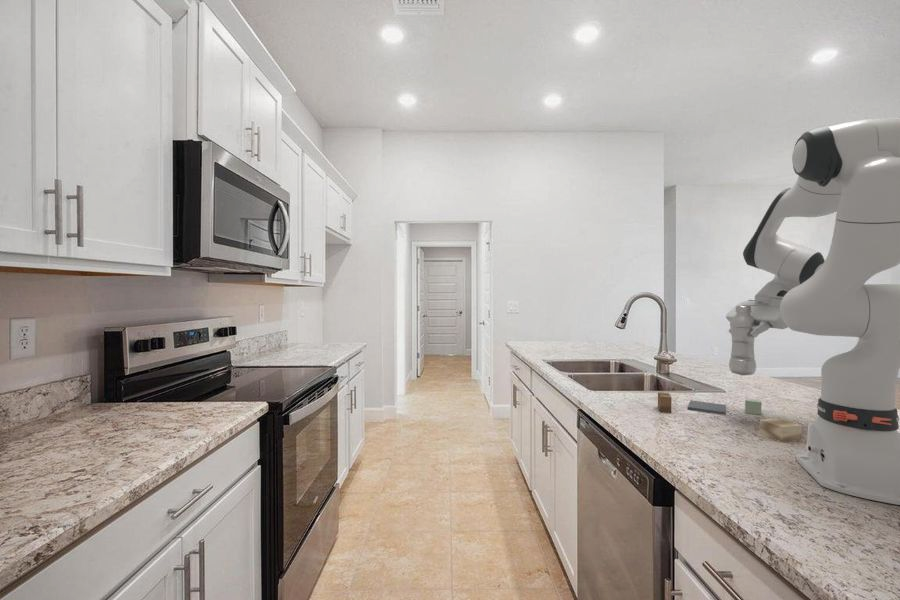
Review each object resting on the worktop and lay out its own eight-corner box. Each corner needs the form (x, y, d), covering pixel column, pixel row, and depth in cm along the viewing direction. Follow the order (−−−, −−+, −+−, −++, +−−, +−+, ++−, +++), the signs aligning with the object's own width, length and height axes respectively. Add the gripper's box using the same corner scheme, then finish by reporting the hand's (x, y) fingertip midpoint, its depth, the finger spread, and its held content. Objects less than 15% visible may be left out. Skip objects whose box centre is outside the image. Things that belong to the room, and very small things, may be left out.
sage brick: (761, 415, 126) (761, 402, 126) (745, 413, 129) (745, 400, 129) (760, 412, 130) (760, 399, 130) (745, 410, 132) (745, 397, 132)
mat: (725, 414, 127) (725, 412, 127) (687, 409, 132) (687, 406, 132) (725, 407, 135) (726, 404, 135) (690, 402, 140) (690, 400, 140)
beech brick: (801, 441, 105) (801, 425, 105) (781, 442, 104) (782, 426, 104) (778, 433, 111) (778, 418, 111) (759, 434, 110) (759, 419, 110)
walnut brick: (671, 413, 128) (671, 397, 128) (660, 412, 129) (660, 396, 129) (668, 408, 134) (668, 392, 134) (657, 407, 135) (658, 392, 135)
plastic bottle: (755, 374, 122) (756, 305, 122) (757, 378, 116) (758, 306, 116) (728, 372, 125) (729, 305, 125) (729, 375, 120) (730, 305, 119)
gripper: (739, 293, 131) (709, 324, 131) (797, 292, 111) (762, 329, 110) (752, 307, 131) (722, 338, 131) (813, 309, 111) (778, 346, 110)
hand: (741, 334), depth 120 cm, fingers closed on plastic bottle, 6 cm apart
